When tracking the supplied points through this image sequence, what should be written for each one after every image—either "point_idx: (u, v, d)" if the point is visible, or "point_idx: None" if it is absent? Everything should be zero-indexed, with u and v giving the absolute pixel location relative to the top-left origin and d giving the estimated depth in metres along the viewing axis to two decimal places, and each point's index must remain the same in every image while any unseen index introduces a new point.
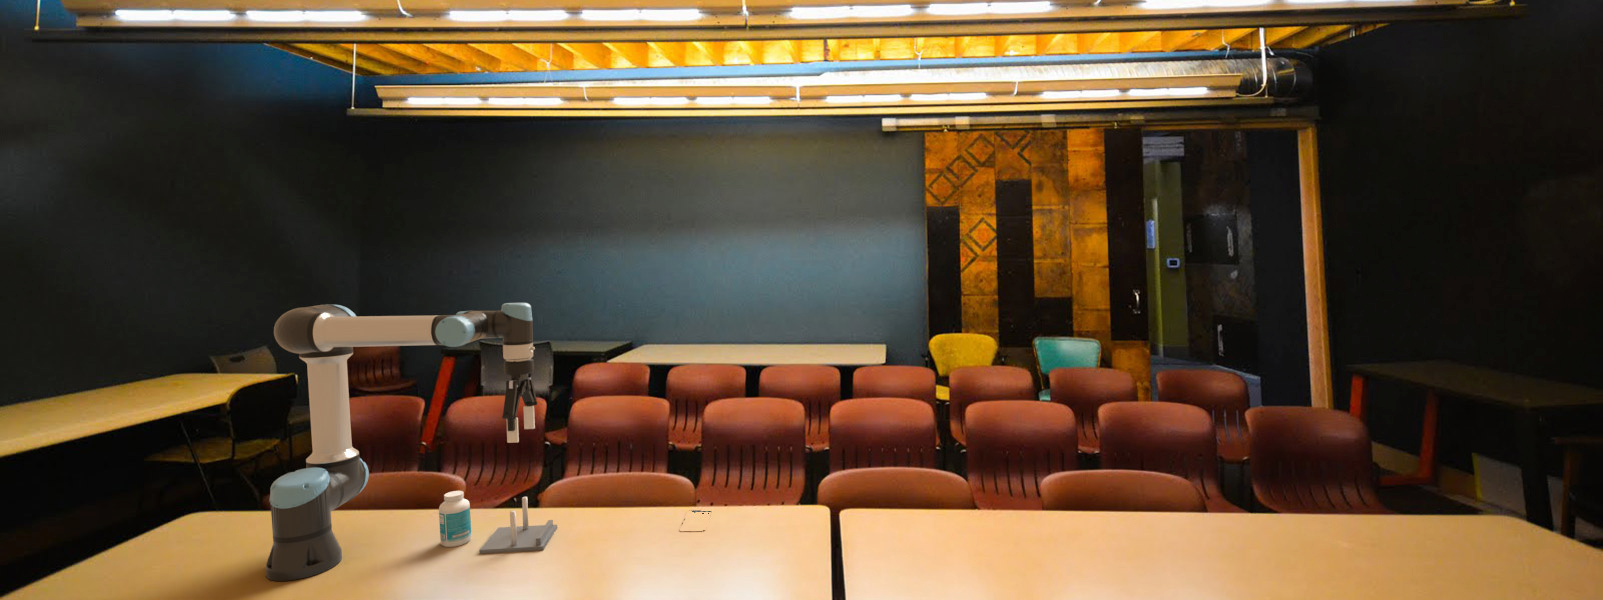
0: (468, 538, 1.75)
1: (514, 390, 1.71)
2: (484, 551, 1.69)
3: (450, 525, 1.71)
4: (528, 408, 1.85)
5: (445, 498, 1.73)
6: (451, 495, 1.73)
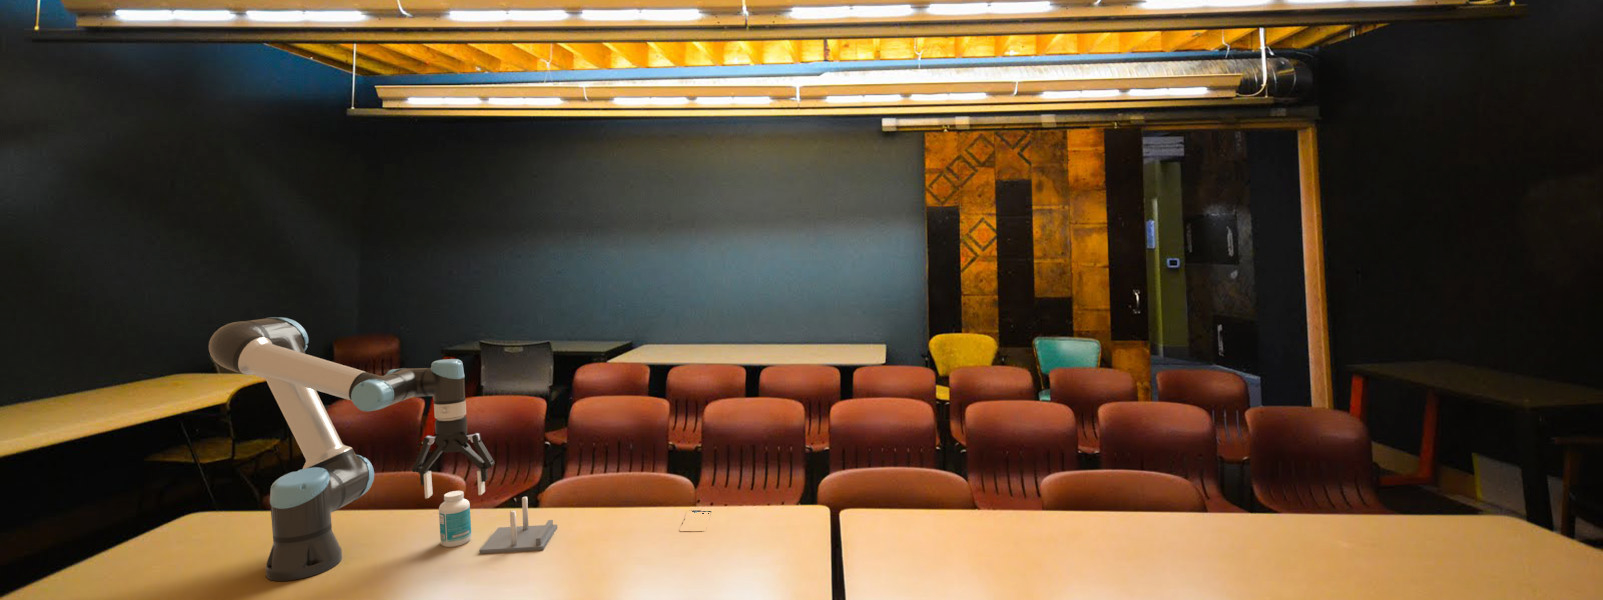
0: (468, 538, 1.75)
1: None
2: (484, 551, 1.69)
3: (450, 525, 1.71)
4: None
5: (445, 498, 1.73)
6: (451, 495, 1.73)
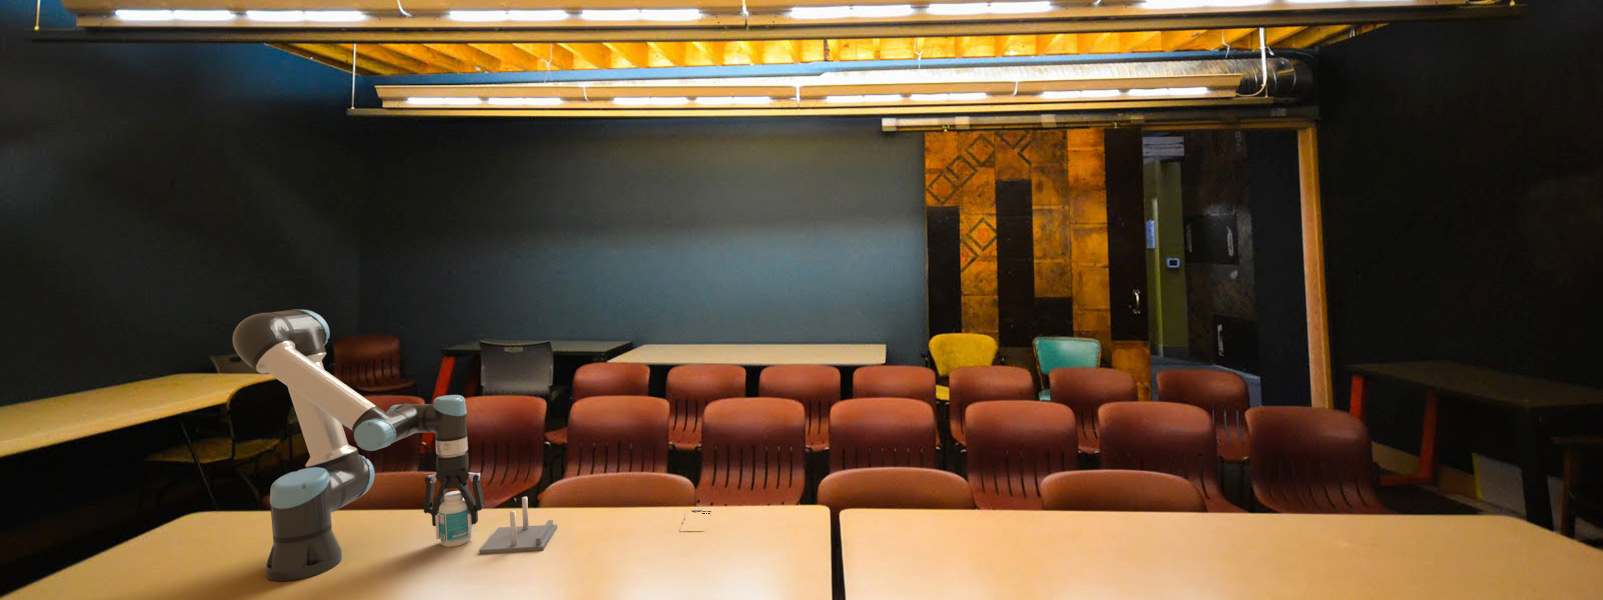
0: (468, 538, 1.75)
1: None
2: (484, 551, 1.69)
3: (450, 524, 1.71)
4: None
5: (445, 498, 1.73)
6: (451, 495, 1.73)
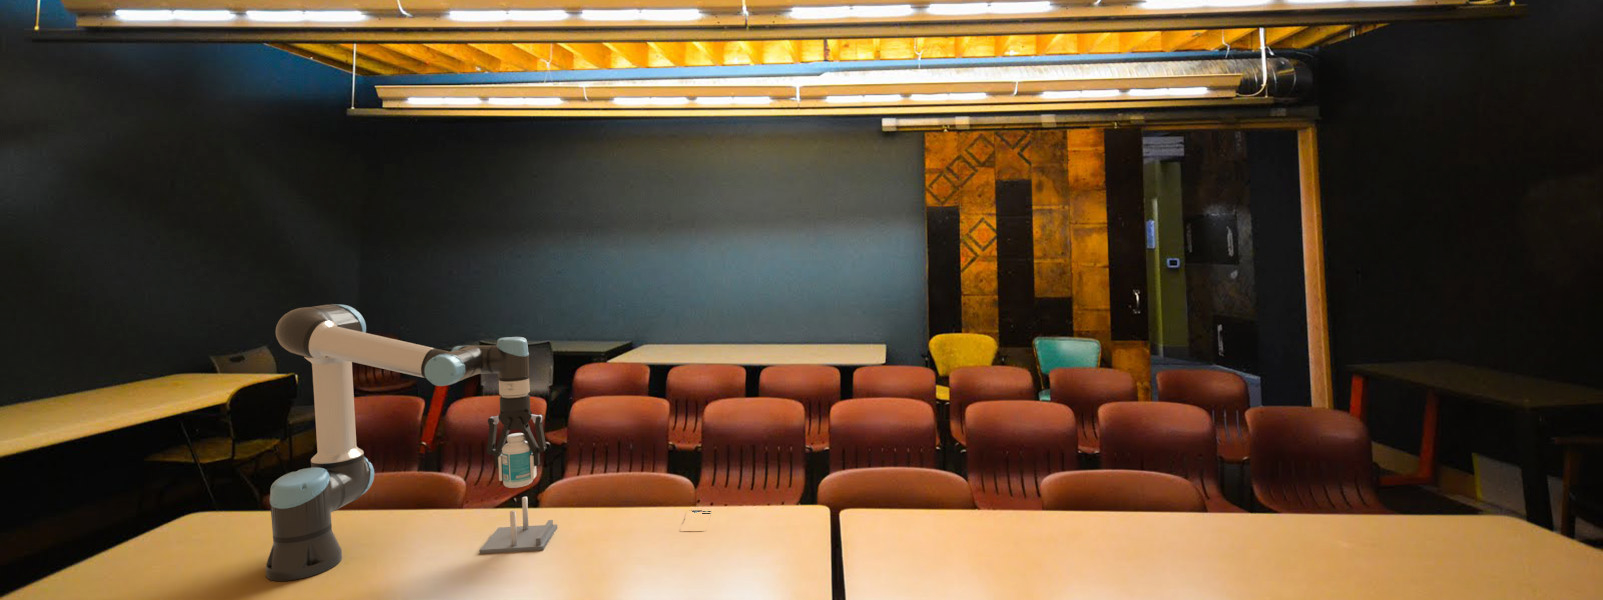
0: (530, 480, 1.75)
1: None
2: (484, 551, 1.69)
3: (514, 465, 1.71)
4: None
5: (508, 439, 1.72)
6: (514, 436, 1.73)
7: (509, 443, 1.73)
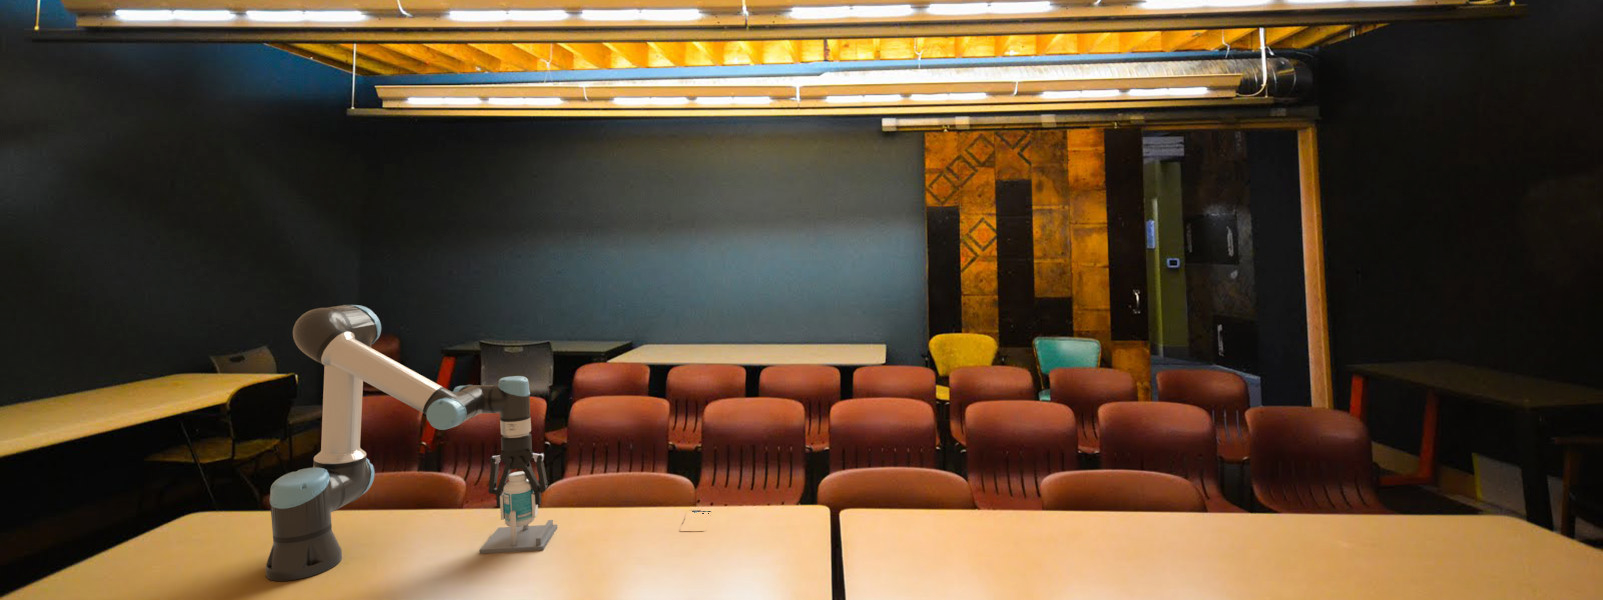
0: (532, 518, 1.75)
1: (491, 467, 1.73)
2: (484, 551, 1.69)
3: (515, 505, 1.72)
4: None
5: (510, 478, 1.73)
6: (516, 475, 1.74)
7: (511, 482, 1.73)
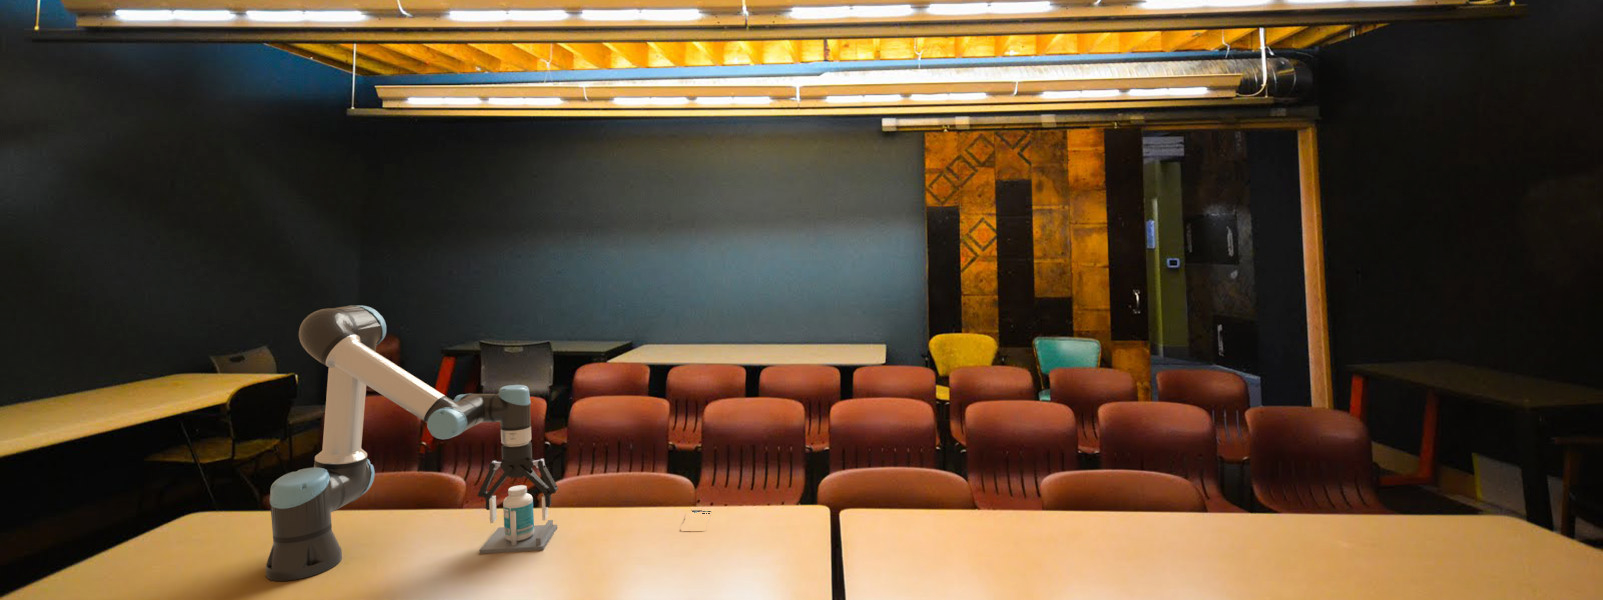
0: (532, 532, 1.76)
1: None
2: (484, 551, 1.69)
3: None
4: None
5: (509, 492, 1.74)
6: (515, 489, 1.74)
7: (510, 496, 1.74)
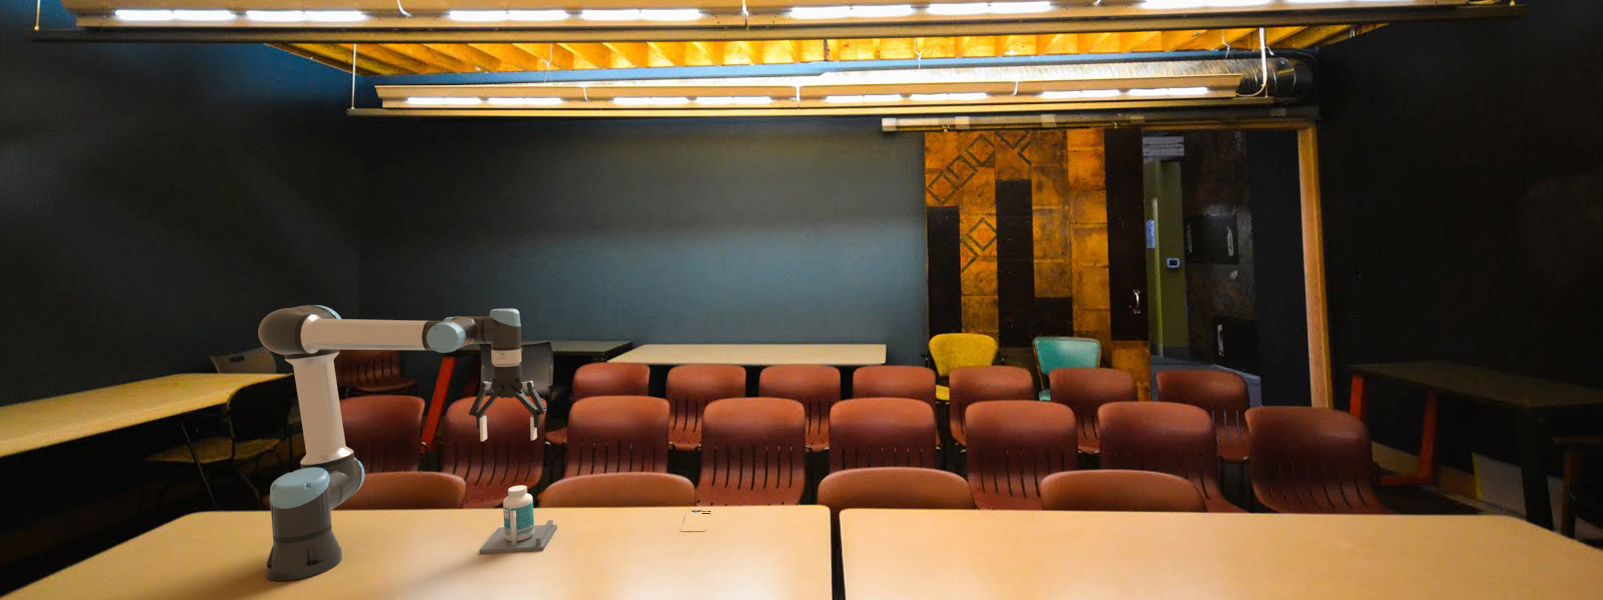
0: (532, 532, 1.76)
1: (479, 391, 1.79)
2: (484, 551, 1.69)
3: None
4: None
5: (509, 493, 1.73)
6: (515, 490, 1.74)
7: (510, 497, 1.74)
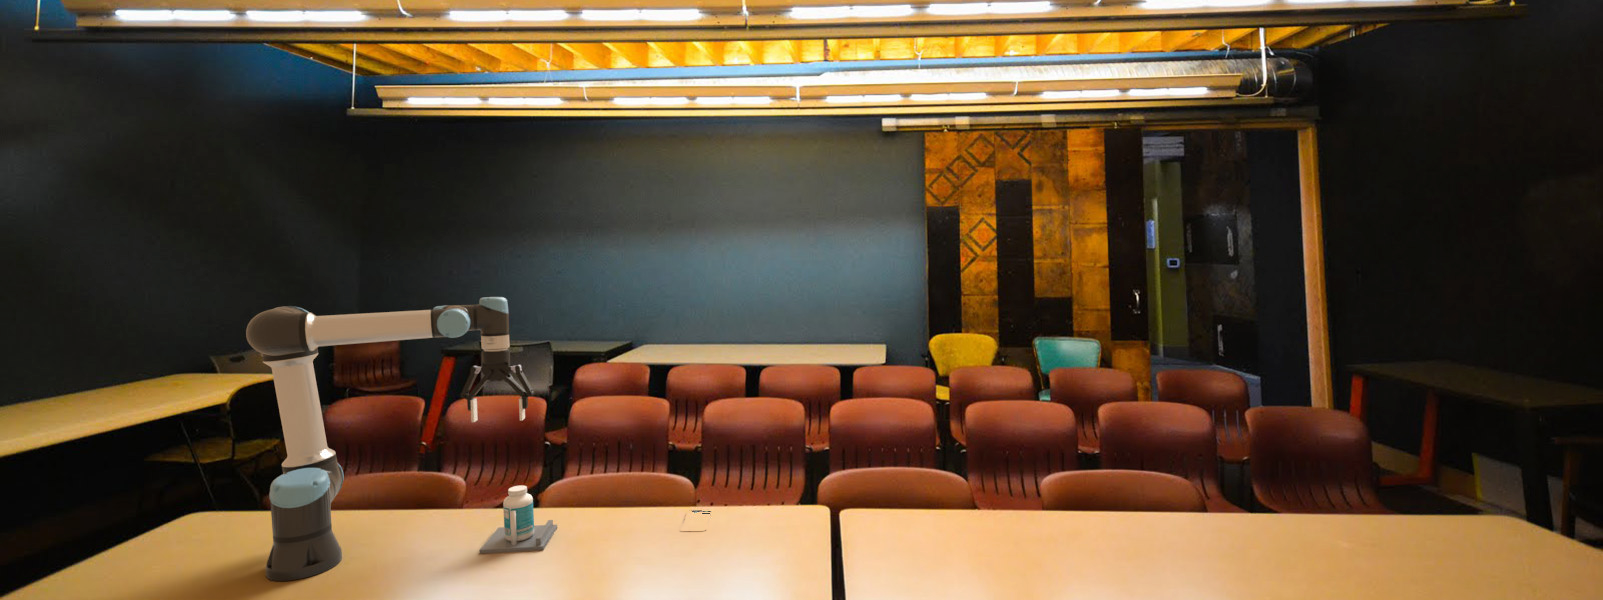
0: (532, 533, 1.76)
1: (470, 375, 1.89)
2: (484, 551, 1.69)
3: None
4: None
5: (509, 493, 1.73)
6: (516, 490, 1.74)
7: (510, 497, 1.74)
